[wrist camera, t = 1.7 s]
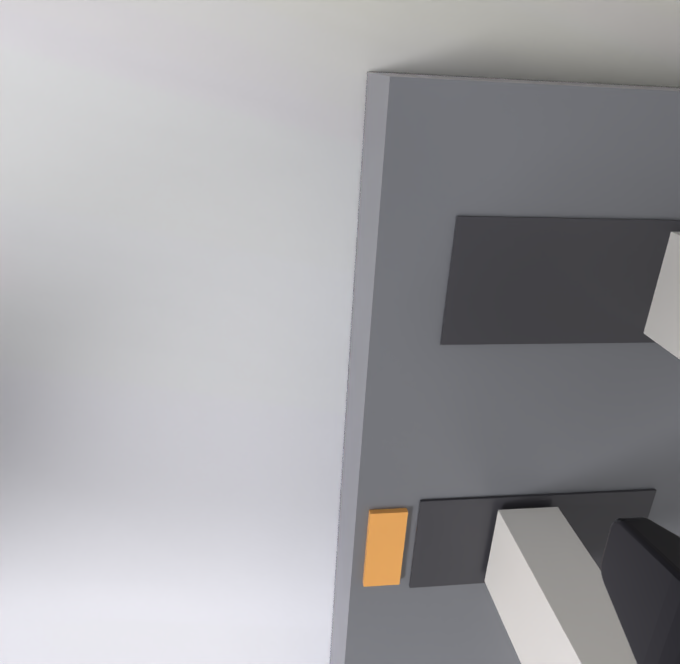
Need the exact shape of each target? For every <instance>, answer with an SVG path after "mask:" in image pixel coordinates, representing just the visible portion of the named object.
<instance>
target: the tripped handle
mask: <svg viewBox="0 0 680 664" xmlns="http://www.w3.org/2000/svg"><path fill="white" fill-rule="evenodd" d="M485 583H486V586H487V588H488V590H489V592H490V595H491V597H492V599H493V601H494V604H495V606H496V608H497V610H498V613H499V615H500V617H501V619H502V622H503V624H504V626H505V628H506V631H507V633H508V635H509V637H510V640H511V642H512V644H513V646H514V649H515V651H516V653H517V655H518V658H519V660H520V662H521V664H637V662H636V660H635V658H634V655H633V653H632V650H631V648H630V645H629V643H628V641H627V638H626V636H625V633H624V631H623V628H622V626H621V624H620V621H619V619H618V616H617V614H616V611H615V609H614V607H613V604H612V602H611V599H610V597H609V594H608V592H607V590H606V587H605V585H604V582H603V579H602V575H601V570H600V569H599V567H598V566H597V564H596V563H595V561H594V560H593V558H592V557H591V555H590V554H589V552H588V551H587V549H586V548H585V547H584V545H583V544H582V542H581V541H580V539H579V538H578V536H577V535H576V533H575V532H574V530H573V529H572V527H571V526H570V524H569V523H568V521H567V520H566V518H565V517H564V515H563V514H562V512H561V511H560V509H559V508H558V507H544V508H524V509H504V510H498V513H497V519H496V524H495V529H494V534H493V539H492V545H491V550H490V555H489V560H488V566H487V571H486V576H485Z"/></svg>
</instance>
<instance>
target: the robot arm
mask: <svg viewBox="0 0 680 664" xmlns="http://www.w3.org/2000/svg"><path fill="white" fill-rule="evenodd" d="M601 575H602V579H603V582H604V585H605V587H606V590H607V592H608V594H609V597H610V599H611V602H612V604H613V607H614V609H615V611H616V614H617V616H618V619H619V621H620V624H621V626H622V628H623V631H624V633H625V636H626V638H627V641H628V643H629V645H630V648H631V650H632V653H633V655H634V658H635V660H636V662H637V664H680V537H679V536H677V535H676V534H674V533H672V532H671V531H669V530H667V529H665V528H664V527H662V526H660V525H659V524H657V523H655V522H653V521H652V520H650V519H648V518H645V517H626V518H618V519H616V520H615V521H614V522H613V523H612V524H611V527H610V531H609V534H608V538H607V542H606V545H605V549H604V553H603V557H602V560H601Z"/></svg>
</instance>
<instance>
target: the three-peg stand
mask: <svg viewBox="0 0 680 664" xmlns="http://www.w3.org/2000/svg"><path fill="white" fill-rule="evenodd" d="M544 507H558V508H559V509H560V511H561V512H562V514H563V515H564V517H565V518H566V520H567V521H568V523H569V524H570V526H571V527H572V529H573V530H574V532H575V533H576V535H577V536H578V538H579V539H580V541H581V542H582V544H583V545H584V547H585V548H586V549H587V551H588V552H589V554H590V555H591V557H592V558H593V560H594V561H595V563H596V564H597V566H598V567H599V569H600V570H601V560H602V557H603V553H604V549H605V545H606V542H607V538H608V534H609V531H610V527H611V524H612V523H613V522H614V521H615V520H616V519H618V518H626V517H645V518H648V519H650V520H652V521H653V522H655V523H657V524H659V525H660V526H662V527H664V528H665V529H667V530H669V531H671V532H672V533H674V534H676V535H677V536H679V537H680V88H672V87H653V86H634V85H615V84H595V83H576V82H557V81H537V80H518V79H499V78H480V77H460V76H441V75H422V74H402V73H383V72H367V86H366V102H365V118H364V133H363V149H362V165H361V180H360V196H359V212H358V227H357V243H356V259H355V275H354V290H353V306H352V322H351V337H350V353H349V369H348V384H347V400H346V416H345V431H344V447H343V463H342V479H341V494H340V510H339V526H338V541H337V557H336V573H335V588H334V604H333V620H332V635H331V651H330V664H521V662H520V660H519V658H518V655H517V653H516V651H515V649H514V646H513V644H512V642H511V640H510V637H509V635H508V633H507V631H506V628H505V626H504V624H503V622H502V619H501V617H500V615H499V613H498V610H497V608H496V606H495V604H494V601H493V599H492V597H491V595H490V592H489V590H488V588H487V586H486V583H485V576H486V571H487V566H488V560H489V555H490V550H491V545H492V539H493V534H494V529H495V524H496V519H497V513H498V510H504V509H524V508H544Z"/></svg>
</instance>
